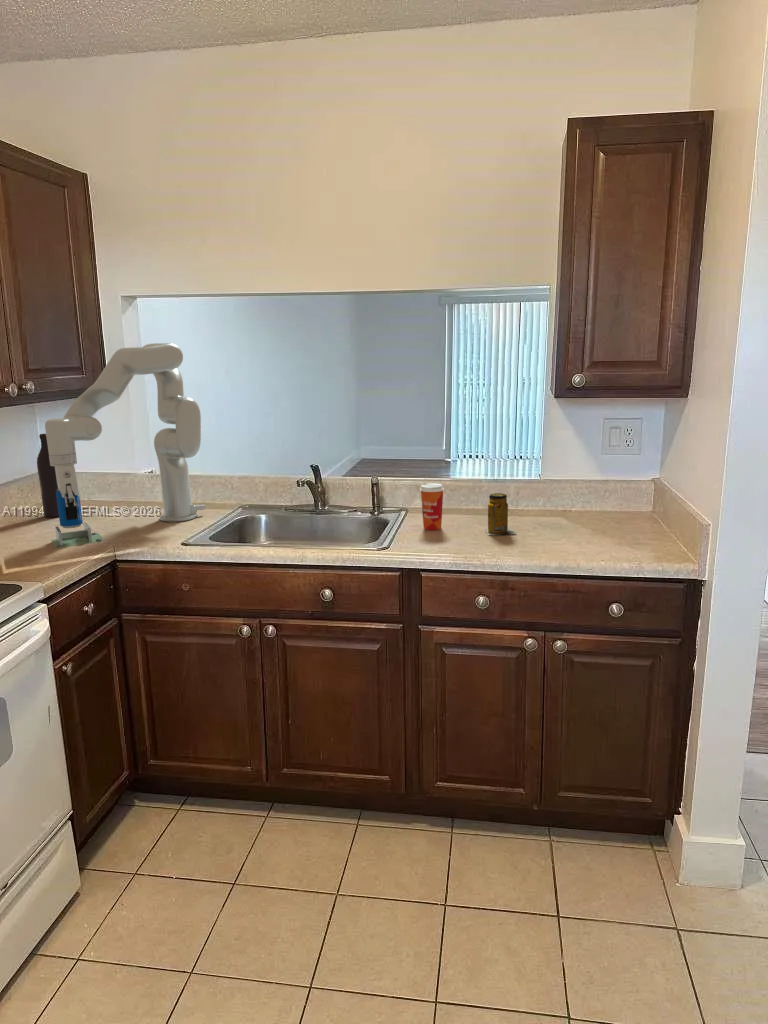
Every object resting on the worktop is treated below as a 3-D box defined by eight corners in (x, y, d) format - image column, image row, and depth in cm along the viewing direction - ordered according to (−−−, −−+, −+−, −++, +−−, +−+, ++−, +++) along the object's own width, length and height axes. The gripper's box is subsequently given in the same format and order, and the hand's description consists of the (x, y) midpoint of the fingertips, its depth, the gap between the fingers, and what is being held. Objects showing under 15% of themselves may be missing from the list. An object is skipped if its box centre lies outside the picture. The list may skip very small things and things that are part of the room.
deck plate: (98, 535, 231) (98, 531, 231) (105, 543, 221) (104, 539, 221) (51, 542, 224) (51, 538, 224) (56, 551, 214) (55, 547, 214)
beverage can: (74, 529, 217) (69, 490, 214) (55, 528, 218) (50, 490, 216) (87, 523, 223) (82, 486, 220) (69, 523, 225) (64, 486, 222)
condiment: (485, 529, 224) (485, 492, 221) (512, 529, 224) (512, 491, 221) (488, 535, 217) (488, 497, 214) (516, 535, 217) (516, 496, 214)
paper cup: (415, 528, 227) (414, 485, 224) (430, 523, 233) (430, 481, 230) (434, 532, 222) (434, 488, 219) (449, 527, 228) (449, 484, 224)
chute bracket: (87, 535, 228) (86, 521, 227) (92, 541, 220) (90, 527, 219) (56, 540, 223) (54, 526, 222) (60, 546, 216) (58, 532, 215)
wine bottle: (59, 512, 265) (47, 432, 258) (69, 514, 261) (58, 433, 254) (40, 516, 260) (28, 434, 253) (51, 519, 256) (39, 435, 249)
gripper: (80, 461, 211) (88, 520, 215) (72, 454, 225) (79, 510, 229) (52, 464, 207) (61, 524, 211) (46, 457, 222) (54, 513, 226)
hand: (70, 516), depth 220 cm, fingers closed on beverage can, 6 cm apart
